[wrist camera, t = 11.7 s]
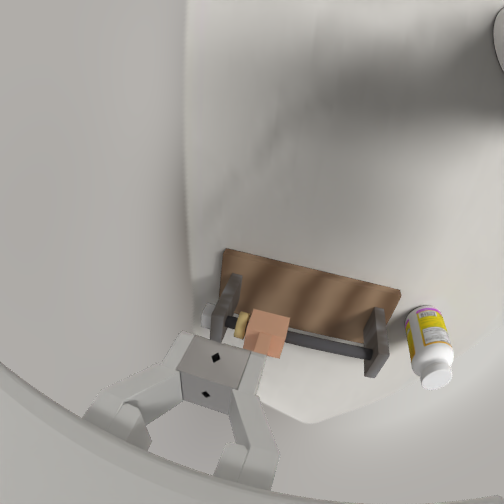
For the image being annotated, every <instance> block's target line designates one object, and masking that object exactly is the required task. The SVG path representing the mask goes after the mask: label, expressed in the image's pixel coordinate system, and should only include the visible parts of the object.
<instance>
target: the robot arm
mask: <svg viewBox="0 0 504 504" xmlns="http://www.w3.org/2000/svg"><path fill="white" fill-rule="evenodd" d="M493 36H494V45H495V50H496V54H497V57H498V60H499V63H500V65H501V67H502V70H503V72H504V8H503V9H502V10H501V11H500V12H499V13H498V15H497V17H496V20H495V23H494V32H493ZM266 356H267V355H264V354H260V353H257V352H253V351H250V350H246V349H243V348H239V347H235V346H231V345H228V344H222V343H219V342H216V341H213V340H210V339H207V338H204V337H201V336H198V335H195V334H192V333H189V332H186V331H181V332H180V333H179V334H178V336H177V338H176V339H175V341H174V343H173V344H172V346H171V348H170V349H169V351H168V353H167V354H166V356H165V358H164V359H163V361H162V363H161V364H158V363H156V364H154V365H152V366H150V367H148V368H146V369H144V370H142V371H139V372H137V373H135V374H133V375H131V376H129V377H127V378H125V379H123V380H121V381H118V382H116V383H114V384H112V385H110V386H108V387H106V388H103V389H101V390H100V392H99V393H98V395H97V396H96V398H95V399H94V401H93V402H92V404H91V406H90V407H89V408H88V410H87V411H86V413H85V414H84V416H83V417H82V418H81V417H79V416H77V415H76V414H74V413H72V412H71V411H69V410H67V409H66V408H64V407H62V406H61V405H59V404H58V403H56V402H55V401H53V400H52V399H50V398H49V397H47V396H46V395H44V394H43V393H41V392H40V391H38V390H37V389H35V388H34V387H33V386H31V385H30V384H29V383H27V382H26V381H24V380H23V379H22V378H20V377H19V376H18V375H16V374H15V373H14V372H13V371H11V370H10V369H9V368H7V367H6V366H5V365H4V364H2V363H1V362H0V504H363V503H349V502H337V501H328V500H320V499H313V498H306V497H300V496H294V495H289V494H283V493H278V492H273V491H271V487H272V483H273V480H274V476H275V472H276V468H277V465H278V461H279V457H280V452H279V449H278V447H277V444H276V442H275V439H274V436H273V434H272V431H271V428H270V426H269V423H268V420H267V418H266V415H265V412H264V409H263V407H262V404H261V401H260V398H259V396H257V395H256V394H257V391H258V388H259V384H260V380H261V376H262V373H263V369H264V365H265V361H266ZM183 400H185V401H188V402H191V403H194V404H198V405H201V406H204V407H207V408H210V409H213V410H215V411H218V412H221V413H224V414H227V415H229V419H230V422H231V426H232V430H233V434H234V438H235V442H236V443H232V442H230V443H228V444H226V445H225V447H224V450H223V452H222V455H221V457H220V460H219V462H218V465H217V467H216V470H215V472H214V475H213V476H212V475H209V474H206V473H203V472H200V471H197V470H194V469H191V468H189V467H186V466H183V465H180V464H178V463H175V462H172V461H170V460H167V459H165V458H162V457H160V456H157V455H155V454H153V453H150V452H148V448H149V447H150V445H151V442H152V440H151V437H150V435H149V433H148V430H147V428H146V425H147V424H149V423H150V422H152V421H154V420H155V419H157V418H158V417H160V416H161V415H163V414H164V413H166V412H167V411H169V410H171V409H172V408H174V407H175V406H177V405H178V404H180V403H181V402H183ZM428 504H504V498H502V497H501V496H499V495H494V496H487V497H482V498H476V499H469V500H462V501H452V502H442V503H428Z"/></svg>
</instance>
